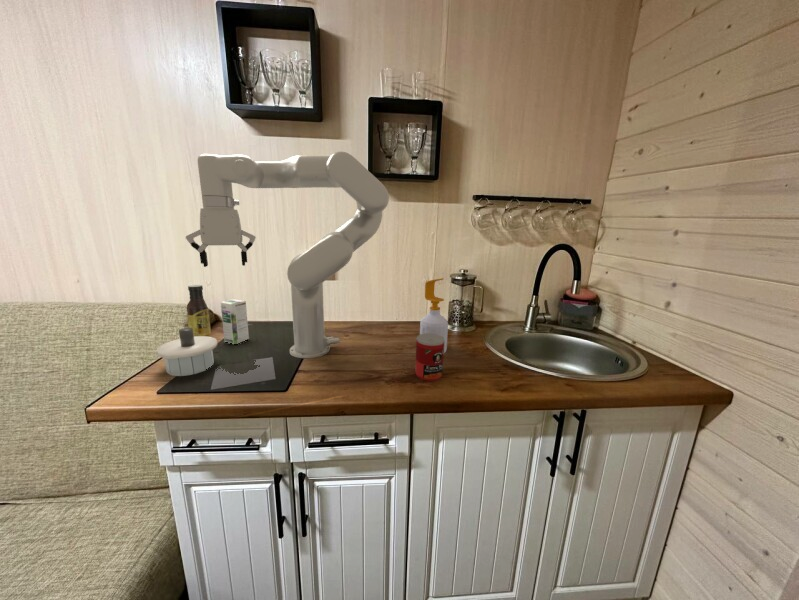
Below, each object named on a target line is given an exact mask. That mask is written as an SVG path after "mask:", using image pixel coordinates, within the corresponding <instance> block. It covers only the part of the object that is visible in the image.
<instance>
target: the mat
mask: <svg viewBox="0 0 799 600" xmlns="http://www.w3.org/2000/svg"><path fill="white" fill-rule="evenodd" d="M255 360H256V362H255V361H254V362H255V364H254V365H258V366H259V365H260V367H258V366H257V368H256V369H254V370H249V371H248V372H247V373H244V374H240V373H239V374H237V373H235V372H234V374H236V375H234V374H233V373H231V374H230V373H229V372H228V371H227V372H226V371H225V369H224V370H223V369H222V368H221V367H220V368H221V369H218V368H217V369H218V370H217V369H216V368H215V371H214V375H213V378H212V383H211V388H210V391H212V390H217V389H218V390H220V389H224V388H230V387H235V386H243V385H249V384H255V383H259V382H260V383H261V382H267V381H273V380H276V373H275V364H274V359H273V356H271V357H265V358H256V359H255ZM216 370H217V371H216ZM222 370H223V371H222Z"/></svg>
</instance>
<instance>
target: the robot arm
mask: <svg viewBox="0 0 799 600" xmlns="http://www.w3.org/2000/svg"><path fill="white" fill-rule="evenodd" d="M197 168H198V175H199V176H198V177H199V178H198V179H199V185H200V194H201V200H202V201H201V202H202V208H200V211H199V229H198V230H196V231H193V232H192V233H190V234H188V235H186V236H185V240H187V242H188V244H190V246H191V247H192V248H193V249H195V250H196V251H197V252H198V253H199V258H200V259H199V260H200V264H201V265H202V264H203V267H204V268H207V267H208V266H209V261H208V254H207V251H206V248H208V246H237V247H238V248H240V250H241V251H240V255H241V265H242V266H243V267H244V266H246V263H248V254H247V253H248V250H249V249H251V247H252V246H253V245H254V242H255V241H256V239H257V237H256V235H254V234H252V233H249V232H248V231H245V230H243V229H242V224H241V219H240V215H239V211H238V209H235V207H236V206H240V200H238V199H237V200H236V199H234V195H233V184H238V185H241V186H243V187H245V188H247V189H286V188H287V189H299V188H300V189H303V188H312V189H313V188H327V189H328V188H334V189H335V188H337V189H339V188H341V189H342V190H343V191H344V192H345V193H347V194H348V195H349V197H351V198H352V199H353V200H354V201H355V202H356V211H355V213H354V215H353V216H351V217H350V218H349V219H348V220H346V221H345V222H344V223H343V224H342V225H340V226H339V227H338V228H336V229H334V230H333V231H331V232H330V233H328V234H326V235H325V236H323V237H322V239H320V241H318V242H317V243H316V244H314V245H313V246H311V247H310V248H309V249H307V250H306V251H304V252H303V253H300V254H298V255H296V256H295V257H293V258H292V260H291V262H290V263H289V265H288V267H287V271H286V274H287V280H288V282H289V283H290V291H291V292H290V293H291V311H292V313H291V314H292V326H293V327H292V329H293V339H294V340H293V343H294V344H293V345H292V346H291V347H290V348H289V354H290V356H292V357H294V358H297V359H313V358H314V359H315V358H319V357H322V356H324V355H327V354H328V353H329V352H330V350H331V348H330V347H331V346H330V345H337V344H340V337H334V336H328V337H327V336H326V334H325V315H324V313H325V312H324V311H325V310H324V309H325V308H324V284H323V283H324V282H325V281H327V280H329V278H331V277H332V276H334V275H335V274H337V273H338V272H340V270H342V269H343V268H345V266H346V265H348V264H349V262H350V260H351V259H352V257H353V253H354V252H356V251H357V250H358V249H360V247H362V246H363V245H364V244H365V243H366V242H368V241H369V240H370V239H371V238H373V237H374V236H375V234H376V233H377V231H378V230H379V228H380V225H381V223H382V220H383V211H384V210H385V209H386V208H387V207H388V205H389V202H390V195H389V191H388V189H387V188H386V186H385V185H384V184H383V183H382V182H381V181H380V180H379V179H378V178H377V177H376V176H375V175H374V174H373V173H371V172H370V171H369V169H367V168H366V166H364V165H363V164H362V163H361V162H360V161H359V160H358V159H357V158H356V157H354V155H352V154H350V153H349V152H346V151H337V152H334V153H332V154H331V155H294V156H291V157H289V158H287V159H284V160H280V161H255V160H254V159H252V158H251V157H250V156H248V155H244V154H231V155H219V154H212V153H211V154H210V153H203V154H200V155H199V156H198V157H197ZM198 236H200V240H201V245H199V244H198V243H197V242H196V241H195V238H197V237H198ZM243 237H246V238H247V239H248V242H247V243H246V245H245V244H244V243H243Z"/></svg>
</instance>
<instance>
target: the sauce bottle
mask: <svg viewBox="0 0 799 600" xmlns="http://www.w3.org/2000/svg"><path fill="white" fill-rule="evenodd" d="M187 290H188V292H189V301H188V302H187V305H186V314H187V315H186V317H187V325H188V327H187V328H193V334H194V337H195V336H208V337H212V329H211V320H210V309H209V307H208V306H207V303H206V301H205V299H204V294H203V290H204V289H203V285H201V284H192V285H188V286H187Z"/></svg>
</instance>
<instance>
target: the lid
mask: <svg viewBox="0 0 799 600" xmlns="http://www.w3.org/2000/svg"><path fill="white" fill-rule="evenodd" d="M178 334H179V338H177V339H174V340H171V341H168V342H165V343H163V344H161V345H159V346H158V347H157V349H156V354H157V356H158V357H160V358H162V359H164V358H168V359H177V358H186V357H192V356H196V355H200V354H203V353H206V352H208V351H211V350H212V351H213V350H214V349H215V348H216V347H217V346H218V340H217V338H215V337H212V336H211V337H208V336H195V337H194V334H193V328H189V327H184V328H180V329H179V330H178Z"/></svg>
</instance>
